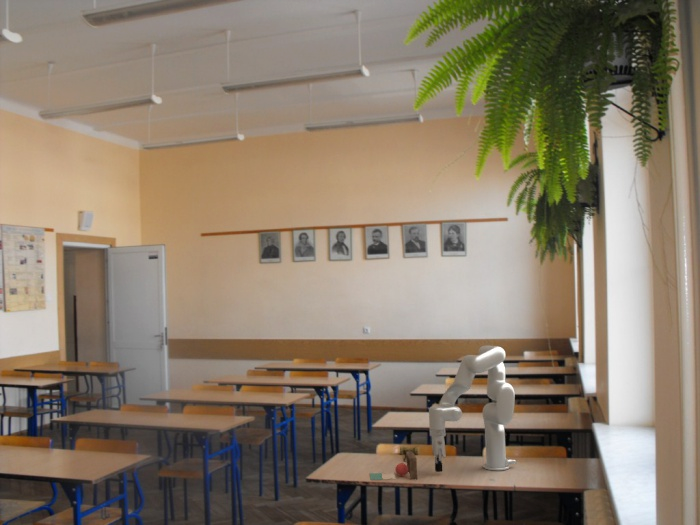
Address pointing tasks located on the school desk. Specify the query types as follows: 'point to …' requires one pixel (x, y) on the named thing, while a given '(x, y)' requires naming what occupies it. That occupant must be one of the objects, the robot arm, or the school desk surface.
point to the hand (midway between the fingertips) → (438, 471)
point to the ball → (401, 469)
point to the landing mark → (376, 476)
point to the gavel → (409, 449)
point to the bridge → (412, 465)
